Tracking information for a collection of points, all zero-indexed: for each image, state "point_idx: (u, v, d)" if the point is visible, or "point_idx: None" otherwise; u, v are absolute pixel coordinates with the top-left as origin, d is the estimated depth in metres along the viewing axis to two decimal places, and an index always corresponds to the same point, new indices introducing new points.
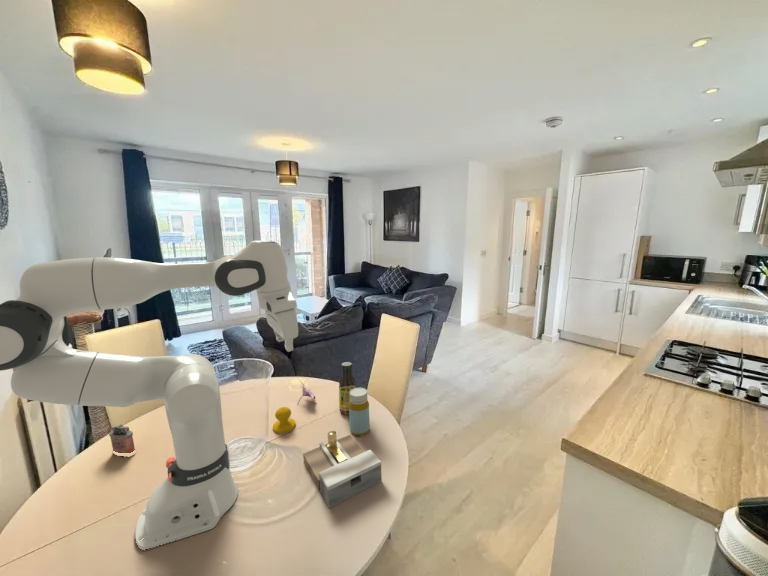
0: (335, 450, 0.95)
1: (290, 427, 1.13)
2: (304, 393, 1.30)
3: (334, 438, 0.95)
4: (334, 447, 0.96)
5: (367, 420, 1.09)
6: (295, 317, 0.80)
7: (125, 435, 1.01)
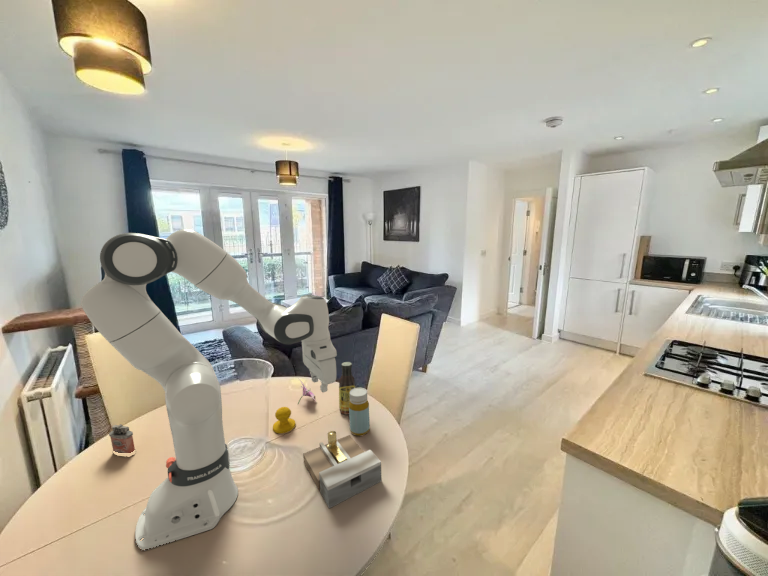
0: (335, 450, 0.95)
1: (290, 427, 1.13)
2: (304, 393, 1.30)
3: (334, 438, 0.95)
4: (334, 447, 0.96)
5: (367, 420, 1.09)
6: (335, 365, 0.92)
7: (125, 435, 1.01)
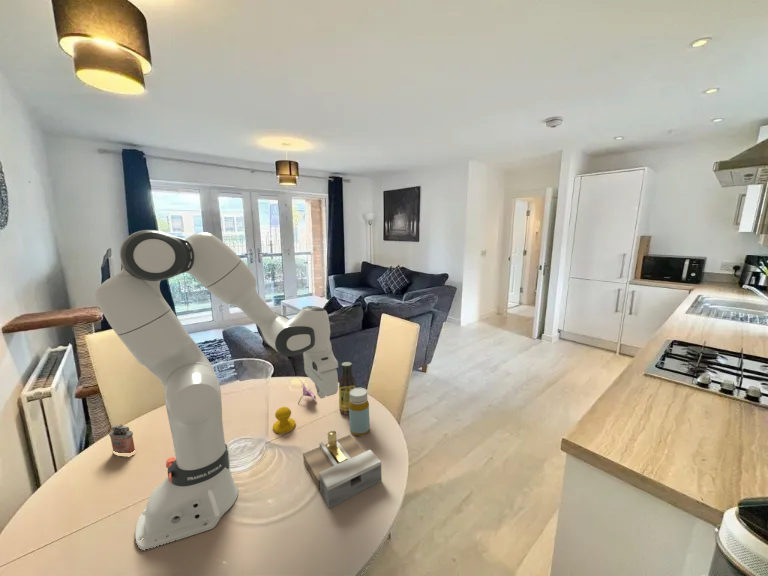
0: (335, 450, 0.95)
1: (290, 427, 1.13)
2: (304, 393, 1.30)
3: (334, 438, 0.95)
4: (334, 447, 0.96)
5: (367, 420, 1.09)
6: (336, 376, 0.93)
7: (125, 435, 1.01)
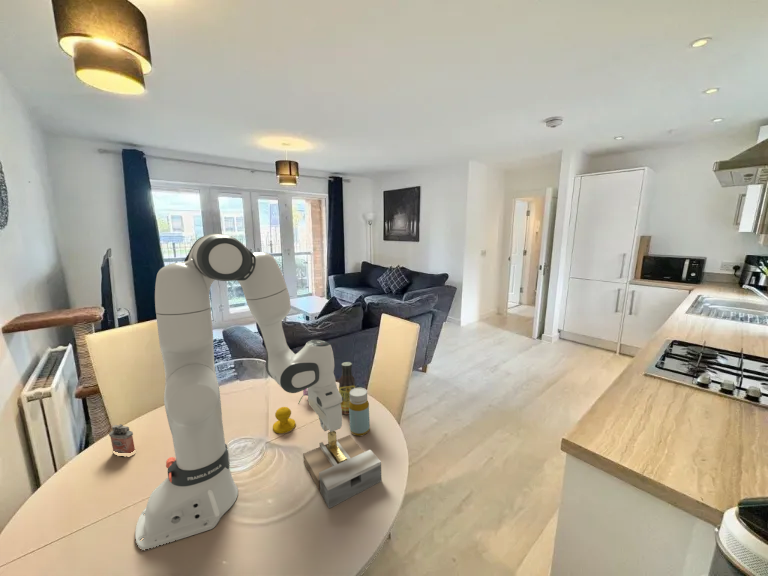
0: (335, 450, 0.95)
1: (290, 427, 1.13)
2: (305, 393, 1.30)
3: (334, 438, 0.95)
4: (334, 447, 0.96)
5: (367, 420, 1.09)
6: (340, 412, 0.93)
7: (125, 435, 1.01)
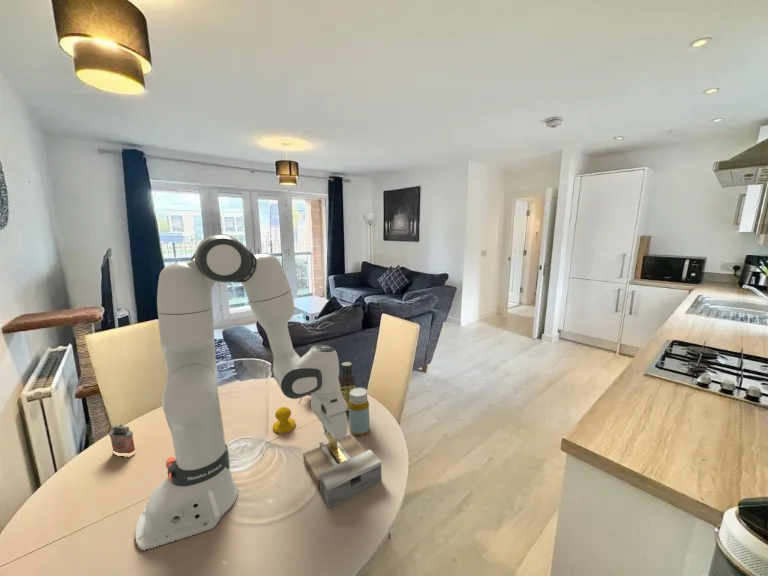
0: (335, 451, 0.94)
1: (290, 427, 1.13)
2: None
3: None
4: (335, 448, 0.95)
5: (367, 420, 1.09)
6: (346, 420, 0.90)
7: (125, 435, 1.01)
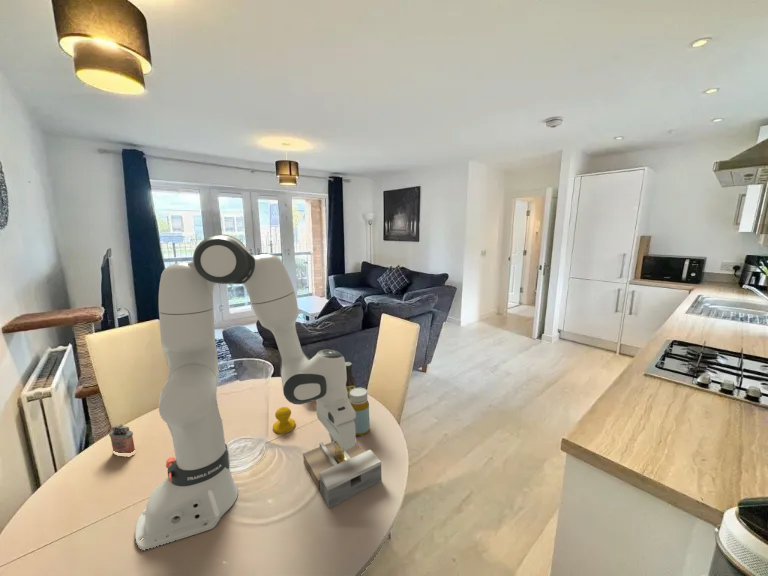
0: (342, 460, 0.91)
1: (290, 427, 1.13)
2: None
3: None
4: (341, 457, 0.91)
5: (367, 420, 1.09)
6: (354, 429, 0.86)
7: (125, 435, 1.01)
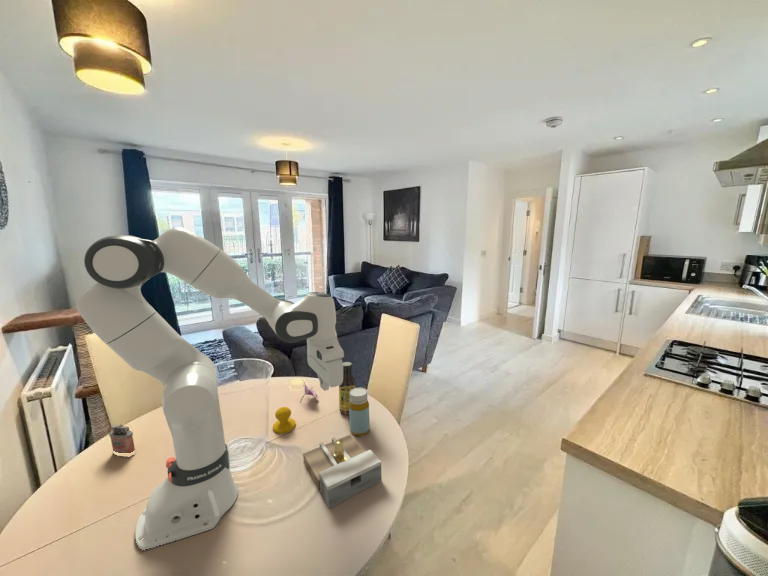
0: (342, 460, 0.91)
1: (290, 427, 1.13)
2: (306, 392, 1.31)
3: (341, 447, 0.91)
4: (341, 457, 0.91)
5: (367, 420, 1.09)
6: (342, 366, 0.87)
7: (125, 435, 1.01)
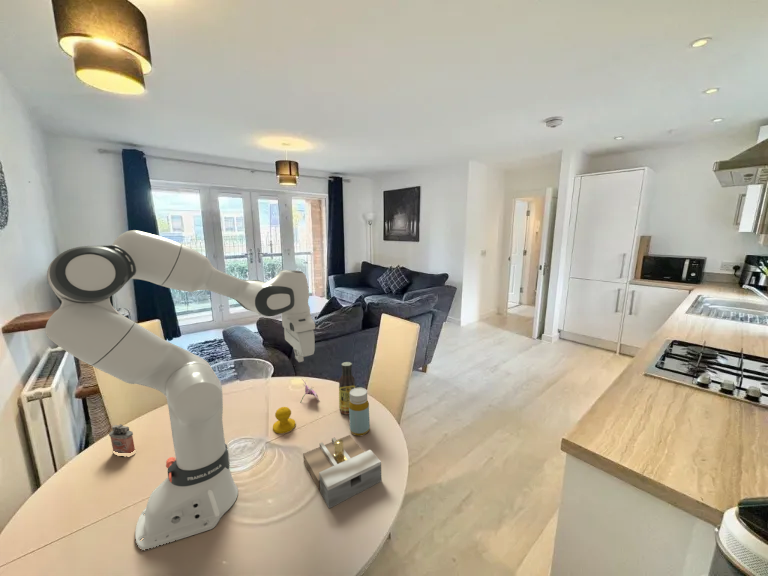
0: (342, 460, 0.91)
1: (290, 427, 1.13)
2: (307, 391, 1.31)
3: (341, 447, 0.91)
4: (341, 457, 0.91)
5: (367, 420, 1.09)
6: (313, 337, 0.94)
7: (125, 435, 1.01)
